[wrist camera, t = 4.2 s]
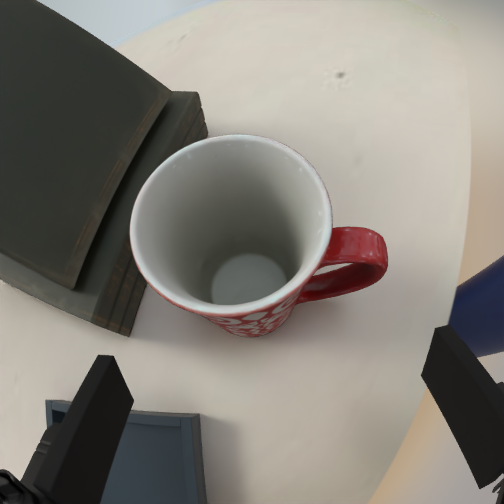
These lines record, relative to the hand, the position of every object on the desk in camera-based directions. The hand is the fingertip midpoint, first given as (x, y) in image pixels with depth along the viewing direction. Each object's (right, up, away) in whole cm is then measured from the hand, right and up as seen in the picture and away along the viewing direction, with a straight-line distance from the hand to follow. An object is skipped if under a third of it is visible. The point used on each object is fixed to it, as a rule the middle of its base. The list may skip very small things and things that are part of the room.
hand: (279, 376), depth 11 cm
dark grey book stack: (-18, +10, +19) cm, 28 cm away
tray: (-11, -16, +7) cm, 21 cm away
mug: (+1, +1, +14) cm, 14 cm away
